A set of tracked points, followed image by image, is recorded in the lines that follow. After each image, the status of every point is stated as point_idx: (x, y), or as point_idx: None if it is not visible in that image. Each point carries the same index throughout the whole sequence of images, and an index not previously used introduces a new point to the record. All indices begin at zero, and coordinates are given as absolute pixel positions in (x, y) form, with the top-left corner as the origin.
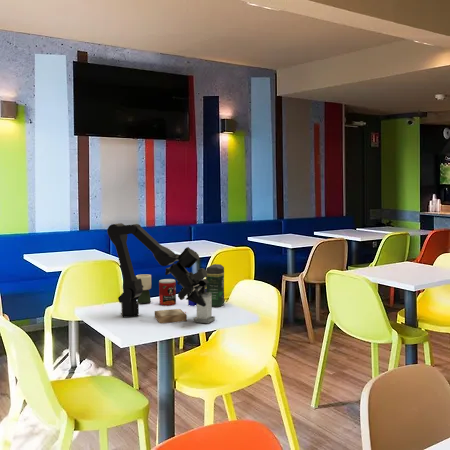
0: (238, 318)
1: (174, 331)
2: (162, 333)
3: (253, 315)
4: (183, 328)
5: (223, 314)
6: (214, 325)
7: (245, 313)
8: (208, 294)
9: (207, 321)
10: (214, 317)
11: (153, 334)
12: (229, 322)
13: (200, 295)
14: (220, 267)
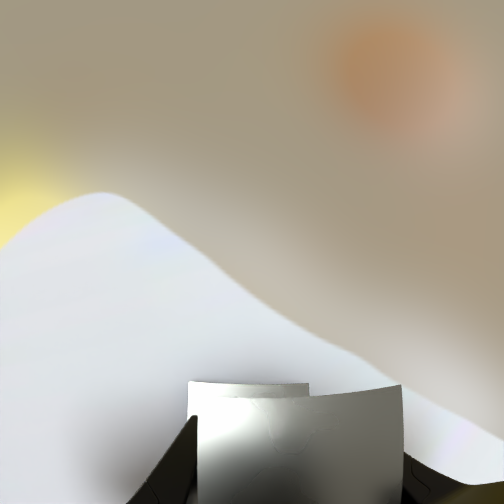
0: (115, 256)
1: (459, 450)
2: (483, 463)
3: (58, 206)
4: (417, 454)
5: (41, 361)
6: (311, 339)
7: (22, 249)
8: (347, 393)
9: (306, 390)
10: (196, 382)
11: (494, 475)
12: (215, 279)
13: (394, 488)
14: None
